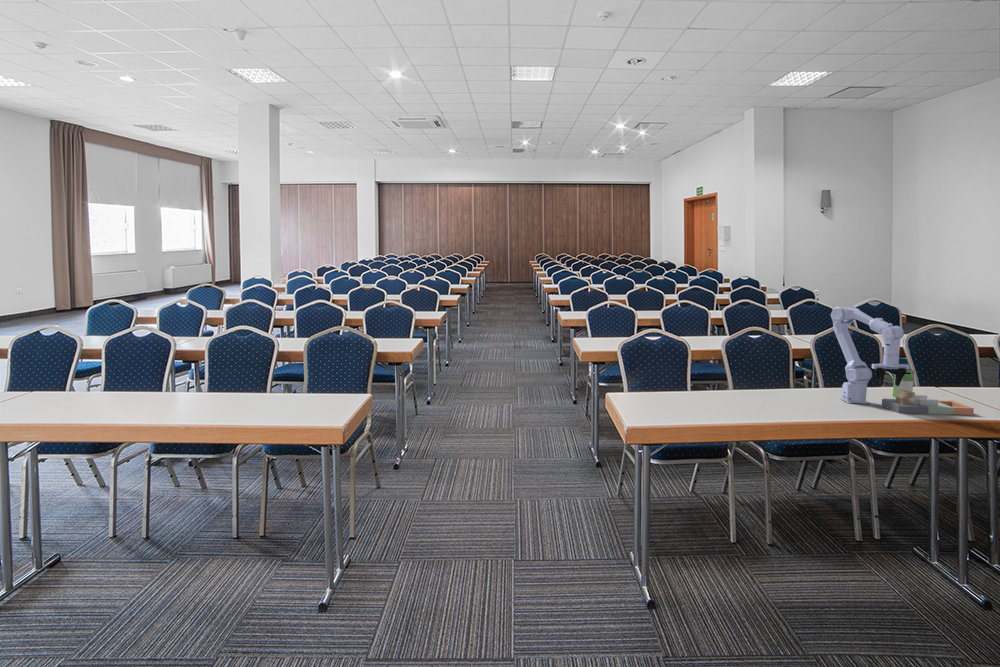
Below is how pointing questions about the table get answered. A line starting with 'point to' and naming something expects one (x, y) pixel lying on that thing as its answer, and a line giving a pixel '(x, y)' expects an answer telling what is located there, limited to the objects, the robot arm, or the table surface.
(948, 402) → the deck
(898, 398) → the maple block
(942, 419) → the table surface
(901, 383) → the ink box
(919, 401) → the corridor walls
